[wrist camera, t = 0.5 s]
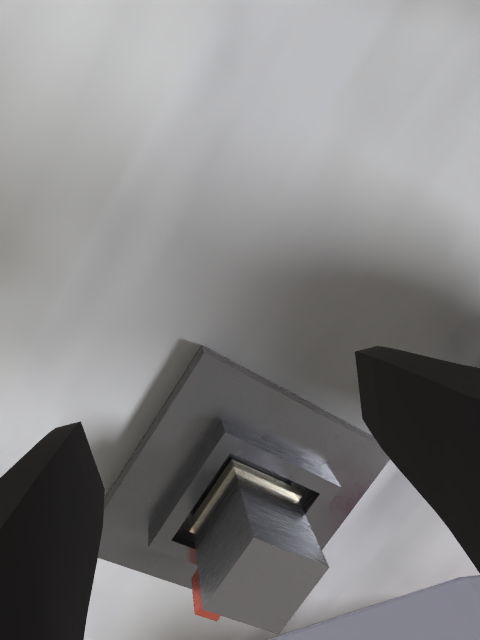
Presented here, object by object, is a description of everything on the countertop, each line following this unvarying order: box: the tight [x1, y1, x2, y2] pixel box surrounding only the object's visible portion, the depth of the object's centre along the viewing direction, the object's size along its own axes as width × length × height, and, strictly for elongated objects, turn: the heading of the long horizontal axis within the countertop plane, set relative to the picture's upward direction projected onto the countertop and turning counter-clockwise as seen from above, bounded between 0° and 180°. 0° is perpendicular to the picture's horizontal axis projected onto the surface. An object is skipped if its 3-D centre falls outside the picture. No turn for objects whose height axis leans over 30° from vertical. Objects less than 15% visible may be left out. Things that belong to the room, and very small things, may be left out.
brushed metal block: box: [188, 459, 329, 634], centre depth 21 cm, size 4×4×5 cm
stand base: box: [98, 346, 390, 621], centre depth 22 cm, size 12×12×4 cm
